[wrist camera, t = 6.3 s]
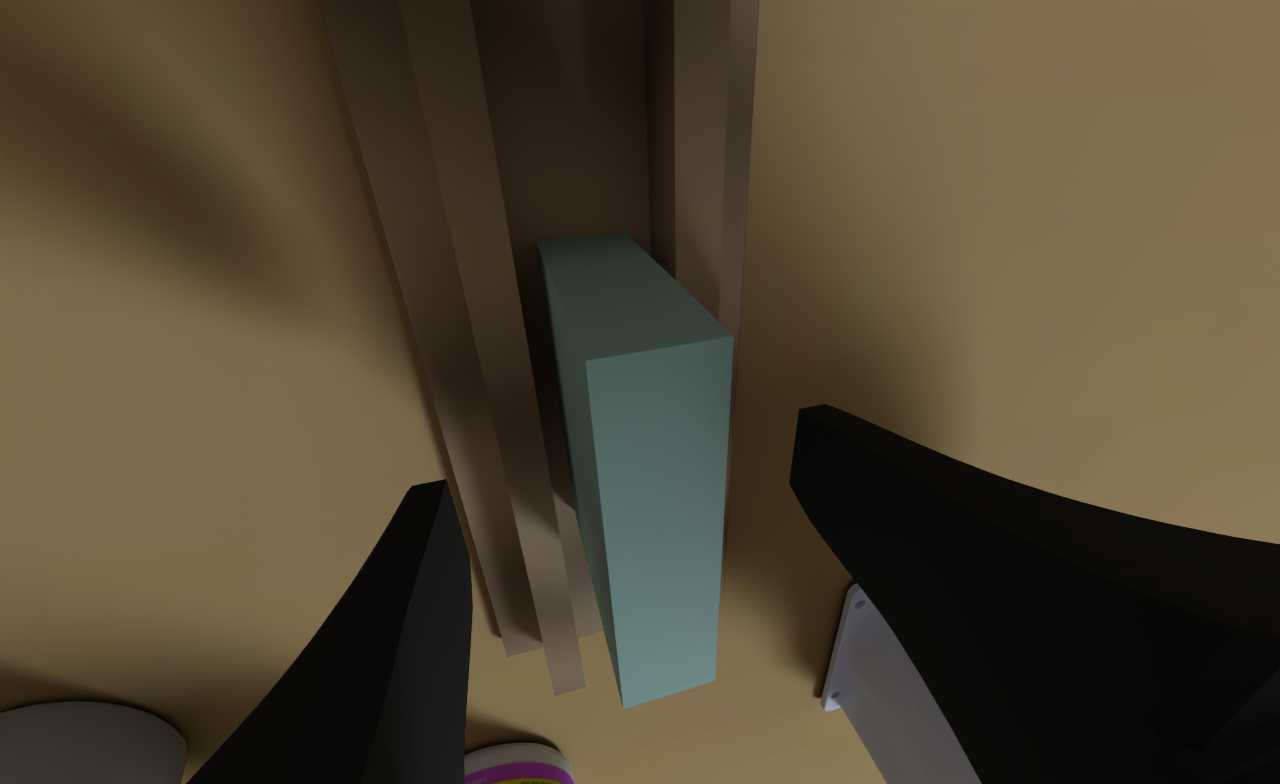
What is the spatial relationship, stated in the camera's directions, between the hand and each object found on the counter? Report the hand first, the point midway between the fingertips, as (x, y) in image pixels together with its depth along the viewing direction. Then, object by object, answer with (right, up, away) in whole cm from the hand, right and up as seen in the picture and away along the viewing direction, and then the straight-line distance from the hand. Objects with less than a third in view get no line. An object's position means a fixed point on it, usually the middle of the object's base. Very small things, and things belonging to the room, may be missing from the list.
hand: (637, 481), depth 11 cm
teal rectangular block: (-1, +2, +3) cm, 4 cm away
